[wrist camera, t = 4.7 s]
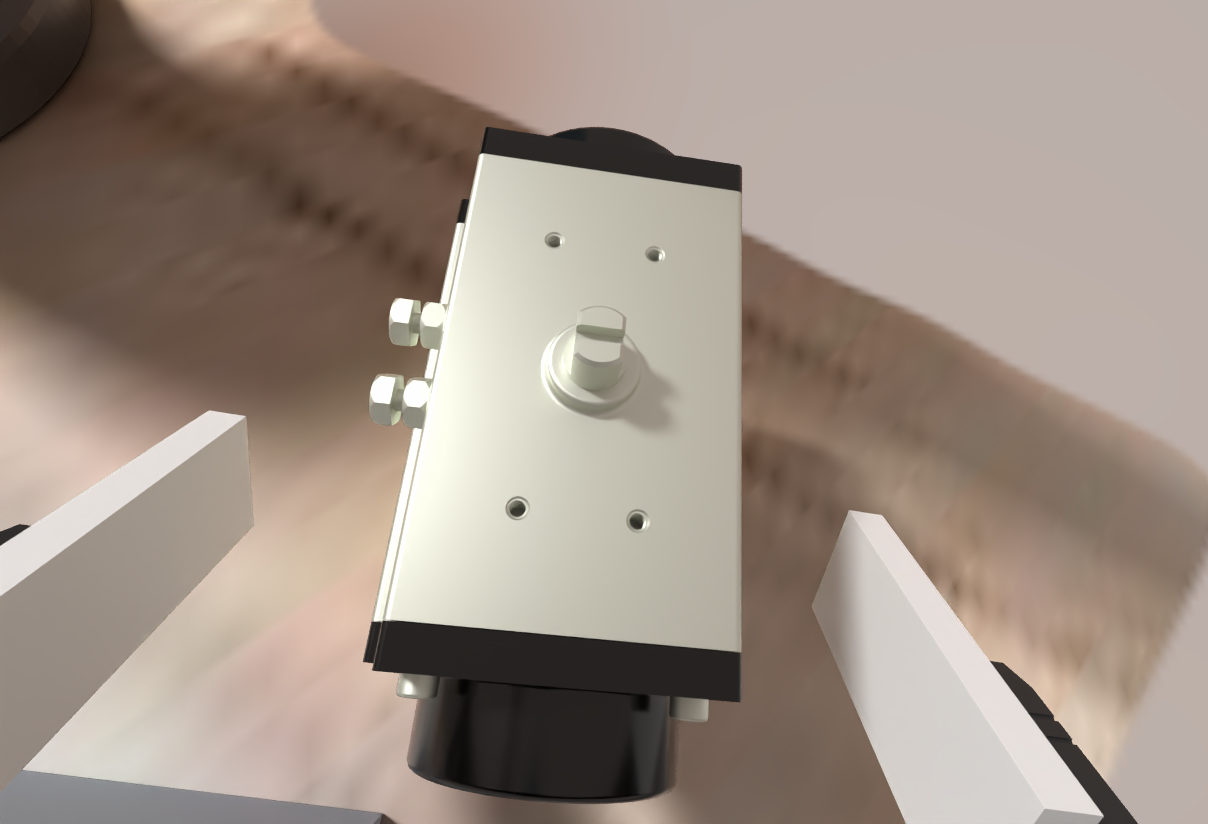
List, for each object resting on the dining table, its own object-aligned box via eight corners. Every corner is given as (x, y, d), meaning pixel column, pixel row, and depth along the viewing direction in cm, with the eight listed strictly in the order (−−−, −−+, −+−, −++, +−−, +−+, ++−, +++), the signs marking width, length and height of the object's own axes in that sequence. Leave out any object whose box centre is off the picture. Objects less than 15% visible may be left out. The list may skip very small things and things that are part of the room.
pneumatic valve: (644, 358, 22) (764, 53, 10) (620, 725, 17) (778, 868, 6) (488, 338, 21) (440, -1, 10) (423, 709, 17) (215, 831, 6)
